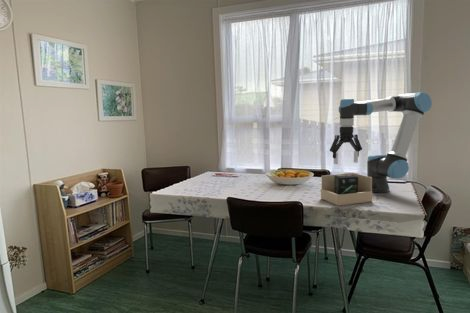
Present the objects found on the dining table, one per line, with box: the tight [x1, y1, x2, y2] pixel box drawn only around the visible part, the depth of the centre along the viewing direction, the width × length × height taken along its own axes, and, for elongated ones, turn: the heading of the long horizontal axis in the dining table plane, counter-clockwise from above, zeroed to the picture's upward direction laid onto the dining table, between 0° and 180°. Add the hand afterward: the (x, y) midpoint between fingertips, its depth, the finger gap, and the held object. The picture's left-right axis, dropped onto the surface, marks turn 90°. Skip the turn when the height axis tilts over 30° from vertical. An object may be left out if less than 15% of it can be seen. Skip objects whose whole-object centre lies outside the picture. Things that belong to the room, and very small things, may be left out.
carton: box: [320, 172, 373, 207], centre depth 194 cm, size 22×18×14 cm
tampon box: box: [334, 174, 358, 195], centre depth 194 cm, size 11×9×15 cm
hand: (345, 163), depth 192 cm, fingers open, 13 cm apart
